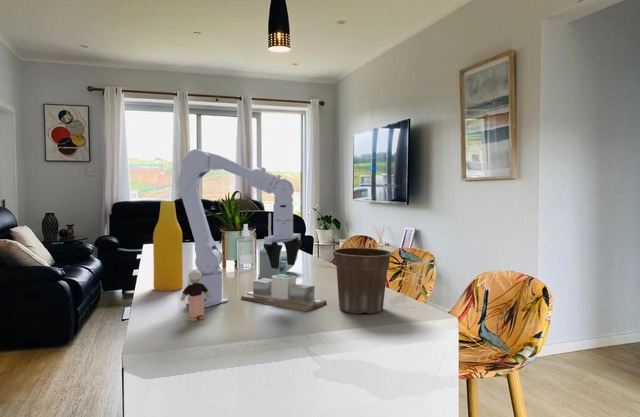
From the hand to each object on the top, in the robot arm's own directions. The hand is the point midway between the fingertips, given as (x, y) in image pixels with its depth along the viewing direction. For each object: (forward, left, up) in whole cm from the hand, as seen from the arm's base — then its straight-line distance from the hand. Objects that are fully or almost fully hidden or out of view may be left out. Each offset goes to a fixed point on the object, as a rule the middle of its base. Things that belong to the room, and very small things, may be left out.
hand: (283, 266), depth 133 cm
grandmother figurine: (-27, +7, -11) cm, 30 cm away
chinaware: (+35, +30, -11) cm, 47 cm away
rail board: (0, 0, -10) cm, 10 cm away
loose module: (0, 0, -9) cm, 9 cm away
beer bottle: (-8, +42, -11) cm, 44 cm away
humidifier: (+14, +17, -11) cm, 24 cm away
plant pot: (+6, -23, -11) cm, 26 cm away
